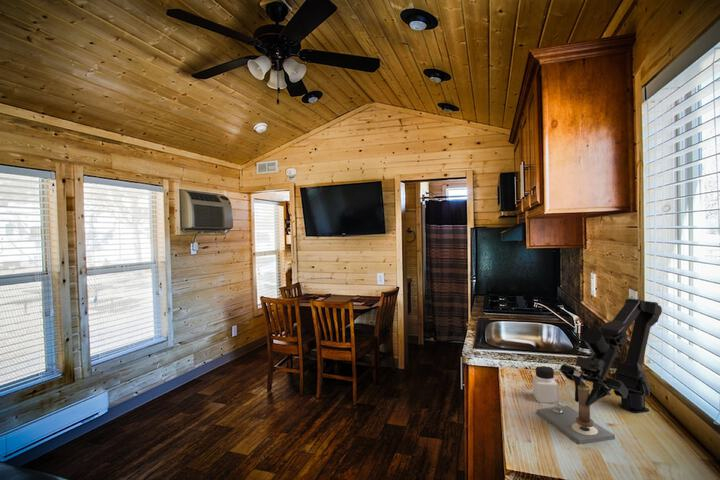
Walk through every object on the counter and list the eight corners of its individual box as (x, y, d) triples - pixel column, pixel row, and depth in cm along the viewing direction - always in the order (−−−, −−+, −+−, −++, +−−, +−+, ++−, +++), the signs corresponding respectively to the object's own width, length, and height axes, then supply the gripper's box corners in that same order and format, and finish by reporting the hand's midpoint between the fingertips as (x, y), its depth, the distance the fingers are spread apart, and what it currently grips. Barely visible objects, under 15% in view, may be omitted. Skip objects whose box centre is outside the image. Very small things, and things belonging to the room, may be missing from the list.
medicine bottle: (558, 403, 137) (557, 371, 137) (537, 402, 138) (536, 370, 138) (552, 395, 144) (552, 364, 144) (533, 394, 145) (532, 363, 145)
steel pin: (558, 408, 130) (558, 399, 130) (565, 413, 127) (565, 403, 127) (550, 409, 130) (550, 400, 130) (557, 414, 127) (556, 404, 127)
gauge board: (567, 409, 133) (567, 405, 133) (614, 438, 113) (614, 434, 113) (536, 413, 131) (536, 409, 130) (579, 444, 111) (579, 439, 111)
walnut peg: (588, 419, 119) (587, 383, 119) (596, 427, 114) (595, 389, 114) (573, 419, 119) (572, 383, 119) (580, 427, 115) (579, 389, 115)
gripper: (561, 339, 127) (541, 379, 122) (621, 354, 110) (601, 401, 105) (576, 358, 130) (557, 397, 125) (637, 375, 114) (617, 421, 109)
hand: (581, 403), depth 116 cm, fingers closed on walnut peg, 3 cm apart
